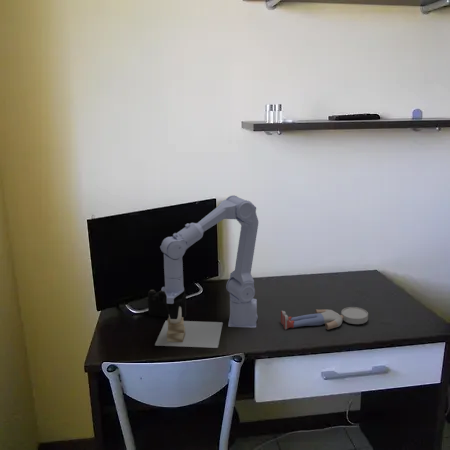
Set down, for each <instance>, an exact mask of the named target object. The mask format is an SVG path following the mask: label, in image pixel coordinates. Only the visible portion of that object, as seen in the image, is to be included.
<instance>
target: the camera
mask: <svg viewBox="0 0 450 450" xmlns="http://www.w3.org/2000/svg"><path fill="white" fill-rule="evenodd" d="M147 297H148V298H147V305H148V310H147V311H148V315H149V316H153V317H160V318H161V317H164V318H169V312H168V309H167V307H166V305H165V304H164V302H163V299H164V297H167V296H166V293H165V291H162V290H160V291H156V290H155V289H150V290H148V294H147ZM181 312H182V317H183V319H185V318H186V317H187V296H186V294H185V293H184V295H183V299H182V304H181Z"/></svg>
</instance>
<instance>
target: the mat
mask: <svg viewBox="0 0 450 450" xmlns="http://www.w3.org/2000/svg"><path fill="white" fill-rule="evenodd" d="M183 321H184V326H185V337H184V340H183V342H167V331H168V319H167V320H165V322H164V323H163V325H162V328H161V331H160V332H159V335H158V336H157V339H156V341H155V343H154V346H158V347H159V346H161V347H163V346H165V347H181V348H182V347H183V348H185V347H186V348H187V347H188V348H189V347H190V348H191V347H192V348H207V349H208V348H211V349H212V348H213V349H218V348H219V345H220V339H221V333H222V329H223V324H224V323H223V322H222V321H221V322H220V321H197V320H196V321H195V320H194V321H193V320H191V321H190V320H183Z"/></svg>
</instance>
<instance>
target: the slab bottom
mask: <svg viewBox="0 0 450 450" xmlns="http://www.w3.org/2000/svg"><path fill="white" fill-rule="evenodd" d="M184 337H185V326H184V333H174V334H168V331H167V342H183V340H184Z"/></svg>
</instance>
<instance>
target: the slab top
mask: <svg viewBox="0 0 450 450" xmlns="http://www.w3.org/2000/svg"><path fill="white" fill-rule="evenodd" d="M167 320H168V334H174V333H184V321H185V320H184V318H183V317H182V322H181V323H178V324H171V323H170V322H169V317H167Z"/></svg>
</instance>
